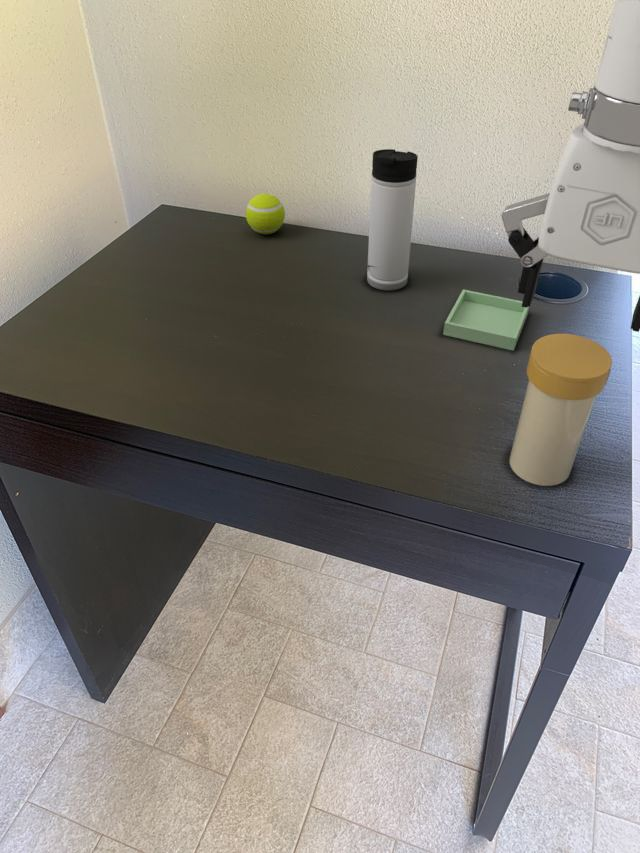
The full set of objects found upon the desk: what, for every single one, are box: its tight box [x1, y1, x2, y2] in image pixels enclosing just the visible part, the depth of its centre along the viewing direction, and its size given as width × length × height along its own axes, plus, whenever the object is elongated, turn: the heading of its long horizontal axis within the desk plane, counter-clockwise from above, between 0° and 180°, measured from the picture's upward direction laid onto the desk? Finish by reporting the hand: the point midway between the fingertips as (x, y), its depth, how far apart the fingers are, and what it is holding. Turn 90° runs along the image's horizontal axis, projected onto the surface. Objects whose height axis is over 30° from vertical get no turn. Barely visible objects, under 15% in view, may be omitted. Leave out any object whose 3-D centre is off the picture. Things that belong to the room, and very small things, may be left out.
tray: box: [442, 289, 530, 352], centre depth 96 cm, size 10×10×2 cm
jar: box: [508, 379, 597, 487], centre depth 71 cm, size 7×7×14 cm
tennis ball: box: [245, 193, 286, 235], centre depth 117 cm, size 7×7×7 cm
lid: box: [526, 333, 613, 400], centre depth 67 cm, size 8×8×3 cm
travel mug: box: [366, 148, 419, 292], centre depth 99 cm, size 6×7×20 cm
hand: (580, 311), depth 63 cm, fingers open, 9 cm apart
